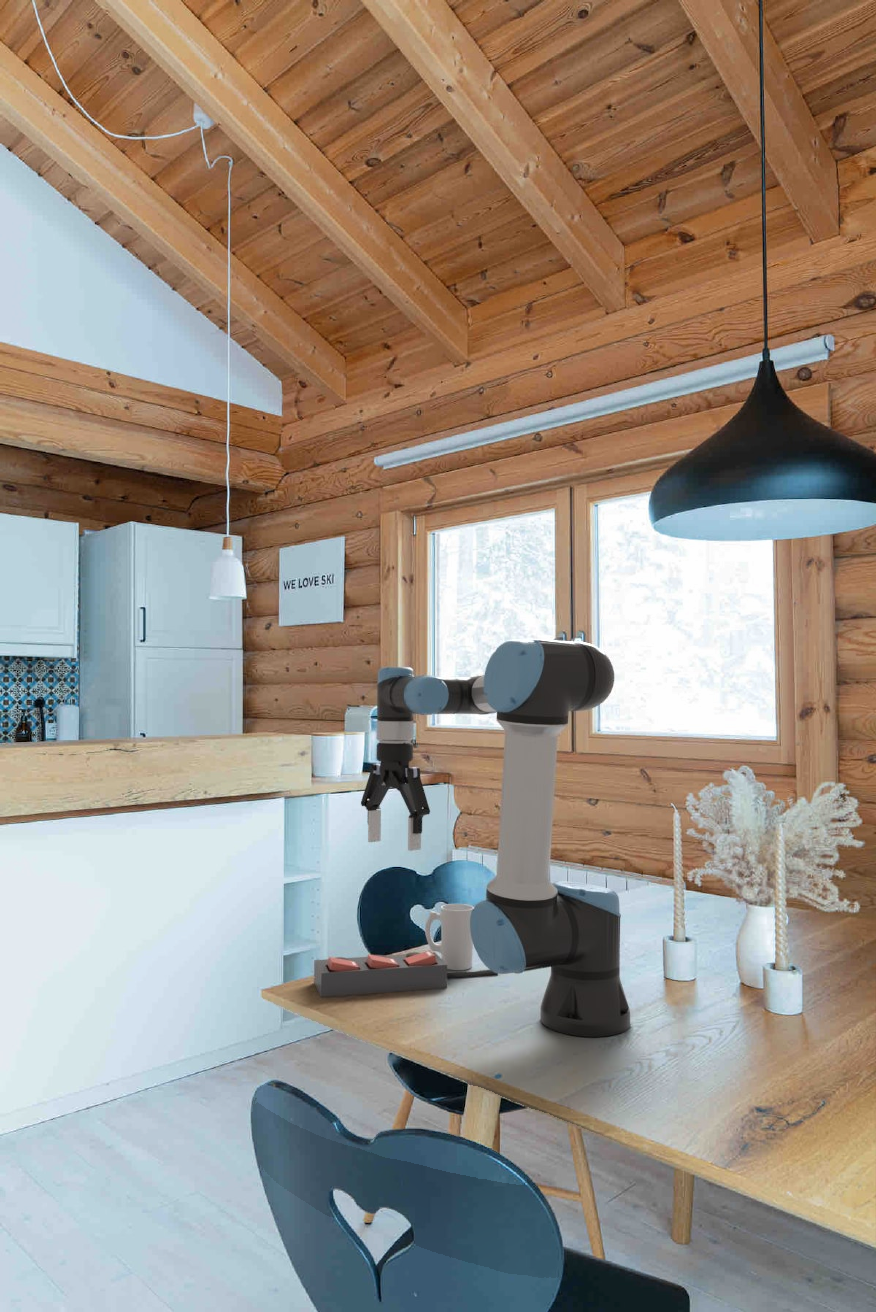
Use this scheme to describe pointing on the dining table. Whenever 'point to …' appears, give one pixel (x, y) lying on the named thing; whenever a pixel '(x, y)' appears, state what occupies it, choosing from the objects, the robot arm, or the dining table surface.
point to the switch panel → (384, 977)
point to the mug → (453, 935)
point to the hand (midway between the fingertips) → (393, 845)
